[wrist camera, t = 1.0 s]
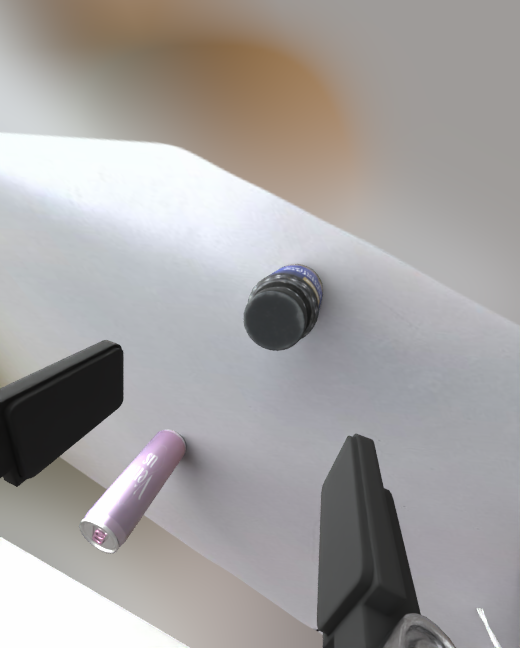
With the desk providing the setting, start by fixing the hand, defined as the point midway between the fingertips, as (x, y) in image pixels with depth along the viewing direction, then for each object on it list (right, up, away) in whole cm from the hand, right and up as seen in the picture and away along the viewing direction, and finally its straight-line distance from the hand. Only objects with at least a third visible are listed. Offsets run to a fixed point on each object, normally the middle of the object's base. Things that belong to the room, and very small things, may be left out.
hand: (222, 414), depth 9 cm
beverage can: (-14, -17, +33) cm, 40 cm away
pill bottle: (+6, +7, +18) cm, 21 cm away
